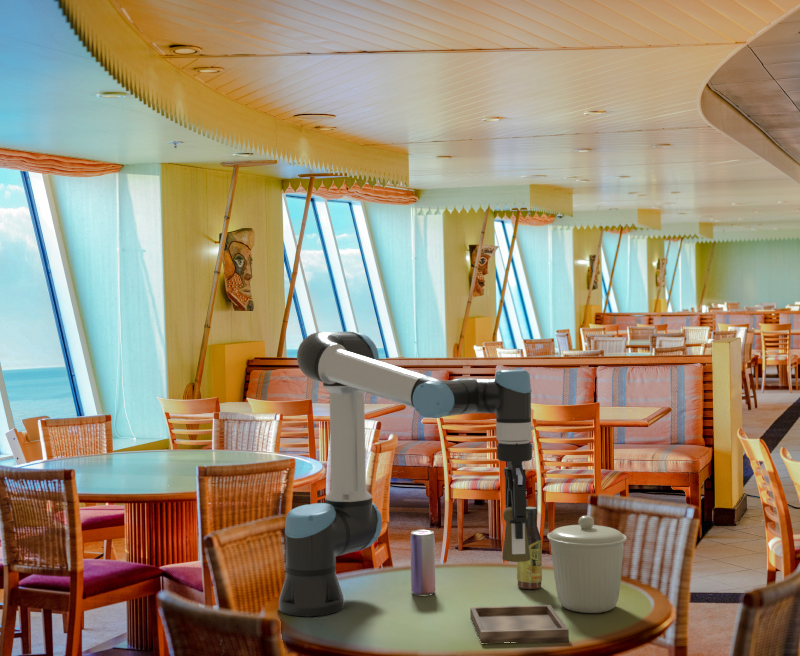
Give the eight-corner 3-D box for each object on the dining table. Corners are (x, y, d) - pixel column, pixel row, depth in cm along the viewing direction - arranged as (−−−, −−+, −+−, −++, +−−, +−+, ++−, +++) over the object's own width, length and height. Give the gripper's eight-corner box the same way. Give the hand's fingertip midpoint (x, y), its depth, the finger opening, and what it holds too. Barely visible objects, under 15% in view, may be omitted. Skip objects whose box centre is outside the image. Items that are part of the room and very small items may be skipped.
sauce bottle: (536, 591, 226) (534, 510, 226) (512, 588, 229) (511, 508, 230) (546, 585, 231) (545, 506, 232) (523, 582, 235) (522, 504, 235)
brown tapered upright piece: (529, 562, 193) (528, 509, 193) (500, 561, 194) (499, 509, 194) (531, 555, 199) (530, 504, 199) (503, 555, 200) (502, 504, 200)
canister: (642, 615, 205) (640, 520, 205) (566, 621, 201) (564, 525, 202) (607, 594, 223) (605, 507, 223) (537, 599, 219) (535, 511, 219)
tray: (481, 644, 187) (480, 632, 187) (470, 618, 205) (470, 607, 205) (568, 641, 187) (568, 629, 187) (550, 616, 205) (550, 604, 205)
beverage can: (410, 596, 224) (409, 534, 224) (412, 589, 230) (411, 529, 230) (434, 596, 223) (433, 534, 223) (436, 590, 229) (435, 529, 229)
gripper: (539, 445, 188) (542, 559, 188) (524, 437, 206) (526, 541, 205) (503, 446, 188) (505, 560, 187) (490, 438, 206) (492, 542, 205)
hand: (516, 550), depth 196 cm, fingers closed on brown tapered upright piece, 5 cm apart
